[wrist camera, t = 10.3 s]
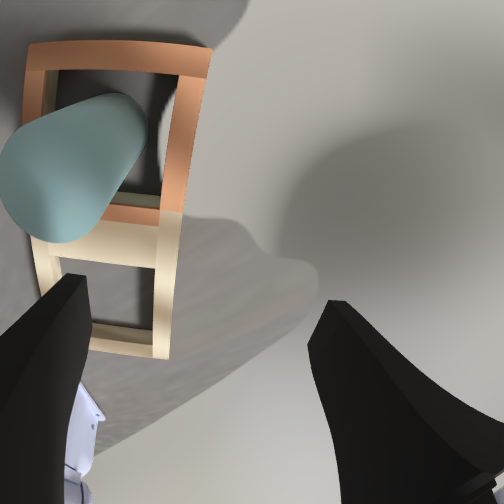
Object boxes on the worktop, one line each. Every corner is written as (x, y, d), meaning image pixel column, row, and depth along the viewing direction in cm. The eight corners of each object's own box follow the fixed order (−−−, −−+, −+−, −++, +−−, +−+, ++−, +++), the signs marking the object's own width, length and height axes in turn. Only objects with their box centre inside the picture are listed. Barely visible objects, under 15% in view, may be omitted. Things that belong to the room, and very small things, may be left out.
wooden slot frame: (169, 345, 24) (168, 362, 23) (58, 329, 22) (52, 345, 21) (212, 50, 14) (212, 48, 12) (44, 44, 12) (29, 43, 10)
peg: (152, 164, 17) (120, 237, 10) (81, 174, 16) (17, 248, 10) (145, 86, 14) (97, 105, 8) (69, 101, 14) (-14, 136, 7)
